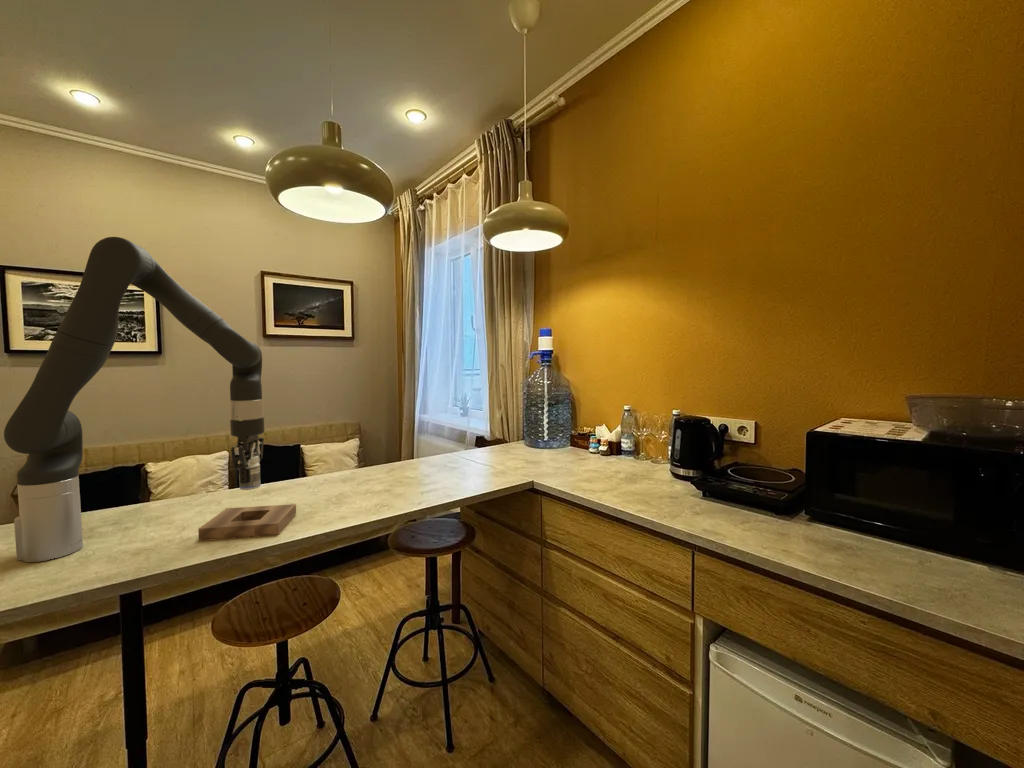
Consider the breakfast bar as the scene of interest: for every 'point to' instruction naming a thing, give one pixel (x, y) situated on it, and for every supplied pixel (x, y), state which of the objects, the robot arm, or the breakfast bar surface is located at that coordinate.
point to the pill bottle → (252, 475)
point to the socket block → (248, 522)
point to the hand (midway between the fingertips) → (249, 479)
